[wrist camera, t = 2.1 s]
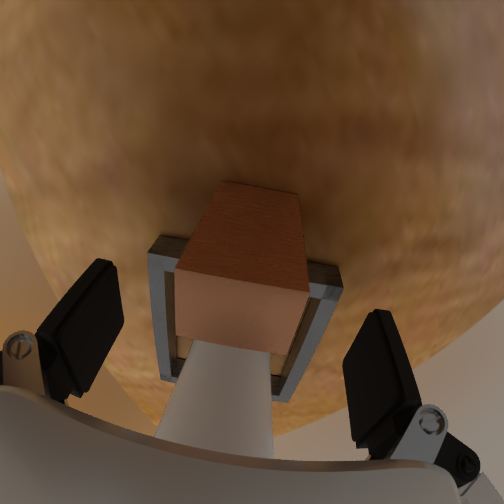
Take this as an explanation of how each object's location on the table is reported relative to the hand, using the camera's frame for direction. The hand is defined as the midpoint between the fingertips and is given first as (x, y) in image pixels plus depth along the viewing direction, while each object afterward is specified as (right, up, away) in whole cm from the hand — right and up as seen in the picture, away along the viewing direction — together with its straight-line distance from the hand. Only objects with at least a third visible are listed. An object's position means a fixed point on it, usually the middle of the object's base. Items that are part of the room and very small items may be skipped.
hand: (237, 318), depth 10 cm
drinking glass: (-1, -3, +11) cm, 12 cm away
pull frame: (0, -1, +9) cm, 10 cm away
